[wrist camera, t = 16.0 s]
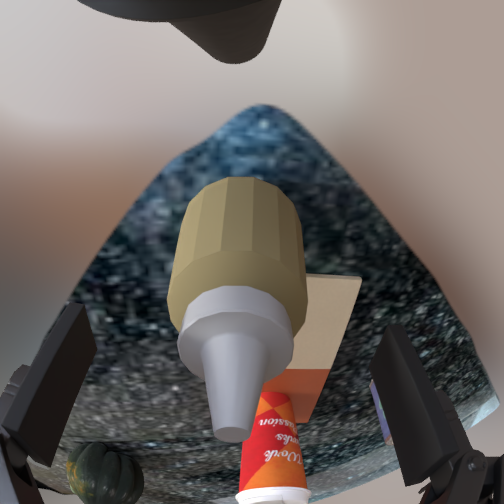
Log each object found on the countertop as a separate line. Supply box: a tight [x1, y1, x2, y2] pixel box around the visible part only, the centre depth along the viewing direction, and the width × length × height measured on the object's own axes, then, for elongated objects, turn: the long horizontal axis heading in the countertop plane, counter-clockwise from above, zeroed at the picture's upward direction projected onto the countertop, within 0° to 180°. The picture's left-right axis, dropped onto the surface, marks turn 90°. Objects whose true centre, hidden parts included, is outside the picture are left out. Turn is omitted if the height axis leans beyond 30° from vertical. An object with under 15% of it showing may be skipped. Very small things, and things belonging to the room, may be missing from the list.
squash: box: [66, 442, 144, 504], centre depth 43 cm, size 14×15×15 cm
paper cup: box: [236, 392, 311, 504], centre depth 30 cm, size 8×8×14 cm
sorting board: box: [261, 273, 362, 423], centre depth 33 cm, size 24×12×1 cm, turn 175°
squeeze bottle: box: [167, 177, 308, 442], centre depth 17 cm, size 8×8×18 cm
